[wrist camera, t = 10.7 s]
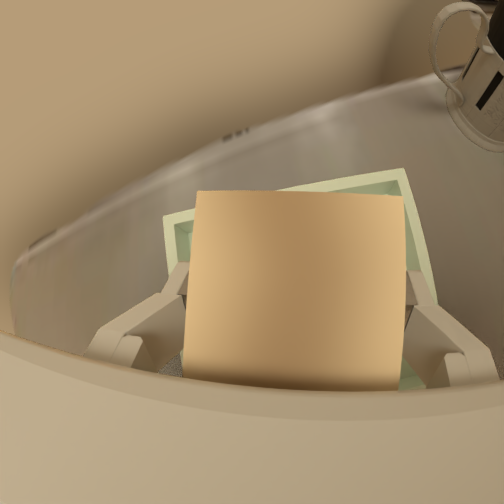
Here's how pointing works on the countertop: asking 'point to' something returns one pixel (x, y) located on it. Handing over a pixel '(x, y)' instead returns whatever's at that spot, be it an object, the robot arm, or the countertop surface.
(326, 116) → the countertop surface
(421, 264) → the tray
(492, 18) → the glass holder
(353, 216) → the block
